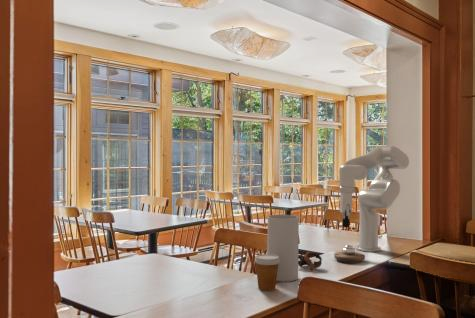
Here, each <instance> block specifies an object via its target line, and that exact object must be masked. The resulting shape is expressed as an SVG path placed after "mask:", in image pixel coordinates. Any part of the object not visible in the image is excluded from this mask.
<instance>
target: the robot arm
mask: <svg viewBox="0 0 475 318" xmlns="http://www.w3.org/2000/svg"><path fill="white" fill-rule="evenodd" d="M409 164H410V159H409V157H408V155H407V153H405V152H404V151H403V150H401V149H400V148H398V147H397V146H396V145H395V146H394V145H378V146H374V148H373V149H371V150H369V151H368V152H367V153H366V154H364V155H360V156H358V157H355V158H351V159H349V160H347V161H345V162H344V163H343V164H342V165H340V166H339V170H338V176H339V177H338V178H339V179H338V183H339V184H338V193H339V194H340V195H339V196H340V197H339V199H340V200H339V212H340V213H341V214H342V225H341V226H342V227H343V228H350V221H351V220H350V216H351V215H350V214H352V213H353V194H355V188H356V187H355V185H356V184H355V182H356V181H362V180H365V179H366V178H367V177H368V173H369V172H368V171H369V170H373V169H375V168H377V169H378V171H377V175H376V176H375V177H374V179H373V180H372V181H371V183H370V184H369V186H368V189H364V190H360V191H359V193H358V194H357V195H358V196H357V203H358V207H359V211H358V212H359V227H358V228H359V229H358V231H359V232H358V233H359V234H358V235H359V236H358V237H359V241H358V242H359V245H356V246H355V250H356V249H357V251H362V252H375V253H376V252H381V251H382V248H381V247H380V246H379V215H378V212H377V210H387V209H390V207H392V205H393V203H394V202H395V201H396V200H397V198H398V196H399V194H400V193H401V184H400V183H399V181H398V180H397V179H394V176H393V174H392V172H391V170H404V169H406V168H407V167H408V166H409Z"/></svg>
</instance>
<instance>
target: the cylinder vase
mask: <svg viewBox="0 0 475 318" xmlns="http://www.w3.org/2000/svg"><path fill="white" fill-rule="evenodd" d="M299 220H300V218H299V216H298V215H292V214H271V215H268V216H267V241H266V242H267V247H266V248H267V253H266V254H272V255H277V256H278V257H279V260H280V262H279V264H278V272H277V279H276V283H277V282H278V283H290V281H291V282H294V280H295V281H296V280H298V279H299V265H298V261H299V259H298V255H299V241H300V240H299V239H300V236H299V234H300V233H299V232H300V231H299V229H300V227H299V224H300V223H299Z"/></svg>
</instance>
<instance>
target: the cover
mask: <svg viewBox="0 0 475 318" xmlns="http://www.w3.org/2000/svg"><path fill="white" fill-rule="evenodd" d="M341 252H342V254H345V255H354V254H355V252H356V247H353V245H349V244H346V245H344V247H342V251H341Z"/></svg>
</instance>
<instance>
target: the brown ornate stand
mask: <svg viewBox="0 0 475 318" xmlns="http://www.w3.org/2000/svg"><path fill="white" fill-rule="evenodd" d="M305 253H306V254H303V255H301V254H298V267H299V268H302V267H303V266H309V267H308V270H309V271H311V272H312V271H314V270H315V269H319V268H320V267H322V266H321V265H322V261H323V260H322V256H321V255H320V254H318V253H317V252H314V251H307V252H305ZM313 256H314V257H315V258H316V259H319V260H318V261H312V259H310V258H312V257H313Z"/></svg>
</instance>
